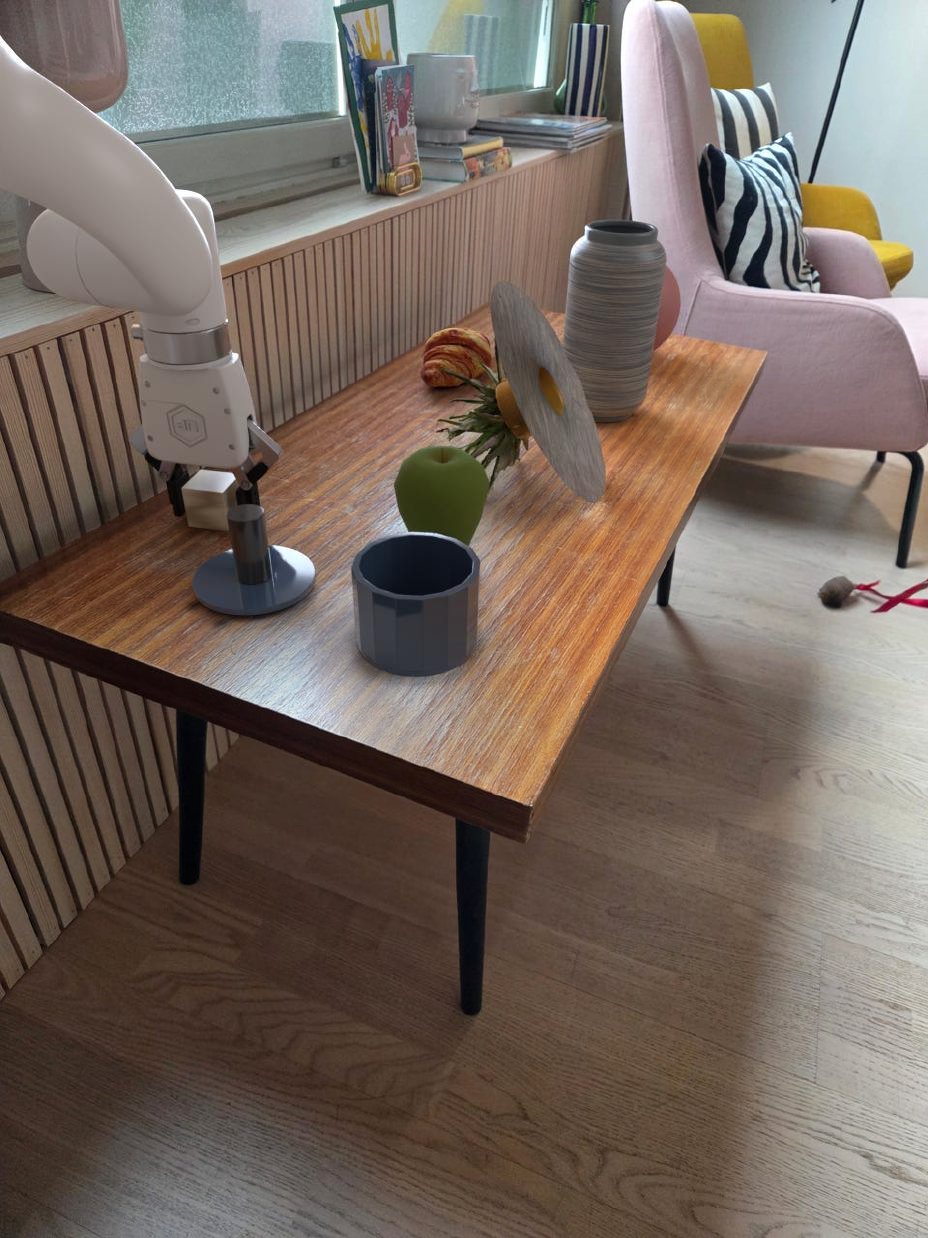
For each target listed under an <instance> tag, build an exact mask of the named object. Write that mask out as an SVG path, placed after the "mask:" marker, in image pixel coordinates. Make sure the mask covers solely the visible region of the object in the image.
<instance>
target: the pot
mask: <svg viewBox="0 0 928 1238" xmlns="http://www.w3.org/2000/svg"><path fill="white" fill-rule="evenodd" d="M350 570H351V587H352V603H353V617H354V632H355V639H356V644H357V648H358V651H359V653H360V654H361V655H362V657H363V658H364V659H365V660H366V661H367V662H368V663H369V664H371V665H372V666H374V667H376V668H378V669H379V670H381V671H384V672H387V673H389V674H393V675H398V676H405V677H428V676H434V675H440V674H443V673H446V672H448V671H451V670H453V669H456V668H457V667H459V666H461V665H463V663H465V662H466V661H468V660H469V659H470V657H471V656H472V655H473V653H474V651H475V649H476V648H477V644H478V632H479V610H480V609H479V608H480V585H481V583H480V580H481V560H480V558H479V556H478V555H477V553H476V552H475V550H474V549H473V548H472V547H471V546H470V545H469V546H467V545H466V544H464V543H462V542H461V541H459V540H457V539H455V538H452V537H448V536H444V535H440V534H437V533H424V532H408V531H406V532H401V533H400V532H399V533H394V534H388V535H385V536H383V537H380V538H377V539H375V540H372V541H370V542H368V543H367V544H366V545H364V546H363V547H362V548H361V549H360V550H358V551H357V552H356V553H355V555H354V558H353V561H352V564H351V567H350Z"/></svg>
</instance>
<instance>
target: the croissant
mask: <svg viewBox="0 0 928 1238" xmlns="http://www.w3.org/2000/svg"><path fill="white" fill-rule="evenodd" d="M473 357H476V358H477V359H478V360H479V361H481V362H482V363H483V364H484V365H486V366H487V367H489V368H490V369H491V366H493V353H492V349H491V339H490V338H489V336H488V335H487V334H484V333H483V332H480V331H478V330H473V329H470V328H468V327H448V328H445V329H441V330H439V331H436V332H434V333H433V334H431V336H430V338H428V340H427V341H426V342H425V345H424V348H423V352H422V365H421V368H420V378H421V379H422V381H423V382H424V383H425V384H426V385H427V386H430V387H433V388H434V387H447V388H448V387H459V386H460V385H461V384H464V383H465V384H466V382H464V381H462V380H460V379H459V378H457V377H455V376H452V375H448V374H446V373H445V372H442V371H441V370H440V368H441V369H448V370H452V371H453V372H456V373H458V374H460V375H463V376H465V377H468V378H469V379H474V380H476V379H477V378H478V377H479V376H481V375H483V374H484V373H485V372H487V371H486V370H485V369H484V368H482V367H480V364H478V363H477V361H476V360H475V359H474V358H473Z"/></svg>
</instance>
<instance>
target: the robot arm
mask: <svg viewBox="0 0 928 1238" xmlns="http://www.w3.org/2000/svg"><path fill="white" fill-rule="evenodd" d="M0 190H2V191H4V192H5V191H6V192H8V193H10V194H13V195H16V196H18V197H21V198H23V199H26V200H28V201H31V202H33V203H35V204H36V205H39V206H41V207H43V208H46V209H45V210H43V211H42V212H41V213H40V214H39V215H37V217H36V218H35V220H34V221H33V222H32V224H31V226H30V228H29V231H28V233H27V238H26V253H27V259H28V262H29V265H30V267H31V270H32V272H33V274H34V275H35V276H36V278H37V279H38V280H39V282H40V283H41V284H42V285H44V286H45V287H46V288H47V289H48V290H49V291H51V292H52V293H54V294H55V295H57V296H59V297H62V298H64V299H67V300H69V301H72V302H77V303H80V304H86V305H90V306H96V307H97V306H98V307H102V308H103V307H104V308H110V309H118V310H126V311H131V312H138V315H139V319H140V322H139V324H138V323H137V324H136V323H133V324H132V325H131V329H130V333H131V337H132V338H133V340H140V341H141V342H143V347H144V351H145V352H146V353H144V354H142V355H141V356H139V362H138V396H139V397H138V399H139V409H140V417H141V423H142V424H141V425H140V426H139V427H138V428H137V429H136V430H135V431H134V432H133V433H132V434H131V435H130V436H129V437H128V442H129V444H130V445H131V446H132V447H133V448H134V449H135V450H136V451H137V452H138V453H139V454H140V455H142V456H143V457H144V459H145V461H146V462H147V463H148V464H149V465H150V466H151V467H152V468H153V469H154V470H156V472H158V477H159V479H160V480H161V481H164V482H165V485H166V490H167V495H168V501H169V504H170V505H172V510H173V515H174V517H176V518H181V517H183V516H184V515H186V511H185V505H184V500H183V495H182V489H181V488H182V487H183V486H184V485H185V484H186V483H187V482H188V481H189V480H190V479H191V478H190V473H189V472H188V469H185V468H183V465H188V466H190V465H191V466H198V467H207V468H208V467H209V468H218V469H229V470H230V473H233V475H234V477H235V479H236V480H237V482H238V484H239V487H238V488H237V489H236V492H235V494H236V501H237V506H238V505H243V504H253V505H258V506H260V507H261V502H260V501H261V500H260V493H259V484H258V482H259V481H260V480H261V479H262V478H263V477H264V476H265V475H266V474H267V473H268V471H270V469H271V468H272V467H273V466H274V465H275V464H276V463H277V462H278V461H279V460H280V459H281V457H282V456H283V455H284V449H283V448H282V447H281V446H280V445H279V444H278V443H277V442H276V441H275V440H274V439H272V438H271V437H270V436H269V435H268V434H267V433H266V432H265V431H264V430H263V429H261V427H260V426H258V422H257V417H256V411H255V406H254V401H253V397H252V393H251V389H250V385H249V382H248V379H247V375H246V372H245V368H244V366H243V363H242V361H241V358H240V355H239V354H238V353H236V352H233V349H232V341H231V334H230V327H229V320H228V314H227V307H226V306H227V305H226V299H225V291H224V283H223V275H222V269H221V262H220V254H219V246H218V239H217V232H216V231H217V230H216V223H215V219H214V213H213V210H212V207H211V204H210V202H209V201H208V200H207V199H206V197H204V196H203V195H202V194H200V193H198V192H195V191H192V190H185V189H176V188H175V186H174V185H173V184H172V182H171V181H170V180H169V179H168V177H167V176H166V174H165V173H164V172H163V170H161V168H159V166H158V165H157V164H156V163H155V162H154V161H153V159H151V158H150V157H149V155H148V154H146V152H144V151H143V150H142V148H140V147H139V146H137V145H136V143H134V142H133V141H132V140H130V139H129V138H128V137H127V136H126V135H125V134H123V133H122V132H120V131H119V130H118V129H117V128H115V127H114V126H112V125H111V124H110V123H109V122H107V121H106V120H104V119H103V118H102V117H100V116H99V115H98V114H96V113H95V112H93V111H92V110H91V109H89V108H88V107H87V106H85V105H84V104H83V103H81V102H80V101H79V100H78V99H76V98H75V97H73V96H72V95H71V94H69V93H68V92H67V91H65V90H64V89H63V88H61V87H60V86H58V85H56V83H54V82H53V81H51V80H49V79H48V78H46V77H45V76H43V75H42V74H41V73H38V72H37V71H36V70H35V69H33V68H31V67H30V66H29V65H28V64H27V63H26V62H25V61H23V59H21V58H20V57H19V56H18V55H17V54H16V53H15V51H13V49H12V48H11V47H10V46H9V44H8V43H7V42H6V41H5V40H4V39H3V37H2V36H1V35H0ZM256 450H258V451H259V452H260V454H261V455H262V458H260V460H259V461H258V462H256V460H255V459H254V457H253V456H252V454H251V452H254V451H256Z"/></svg>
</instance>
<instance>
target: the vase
mask: <svg viewBox="0 0 928 1238" xmlns="http://www.w3.org/2000/svg"><path fill="white" fill-rule="evenodd" d="M658 237H659V229H658V228H657V226H656V225H653V224H650V223H647V222H643V221H638V220H637V221H636V220H630V219H629V220H628V219H601V220H600V219H599V220H593V221H590V222H588V223H587V224H585V226H584V234H583V235H582V236H581V237H580V238H578V240H576V241H575V243H574V244H573V246H572V248H571V250H570V255H569V265H568V276H567V277H568V278H567V289H566V298H565V299H566V300H565V312H564V322H563V323H564V324H563V334H562V335H563V336H562V347H563V349H564V351H565V353H566V356H567V358H568V360H569V362H570V364H571V365H572V367H573V369H574V370H575V372H576V374H577V376H578V378H579V380H580V382H581V385H582V387H583V390H584V395H585V398H586V402H587V405H588V407H589V409H590V411H591V412H592V415H593V418H594V421H595V423H616V422H617V423H618V422H621V421H624V420H627V419H629V418H630V417H631V416H632V415H633V412H635V411H637V410H638V409H639V408H640V407H641V406H642V405H643V403H644V401H645V400H646V397H647V395H648V387H649V380H650V375H651V368H652V362H653V361H652V360H653V356H654V355H653V354H654V351H653V348H654V341H655V335H656V328H657V321H658V315H659V308H660V301H661V295H662V288H663V281H664V275H665V268H666V265H667V253H666V250H665V247H664V245H663V244H662V243H661V241H660V240H658Z"/></svg>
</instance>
